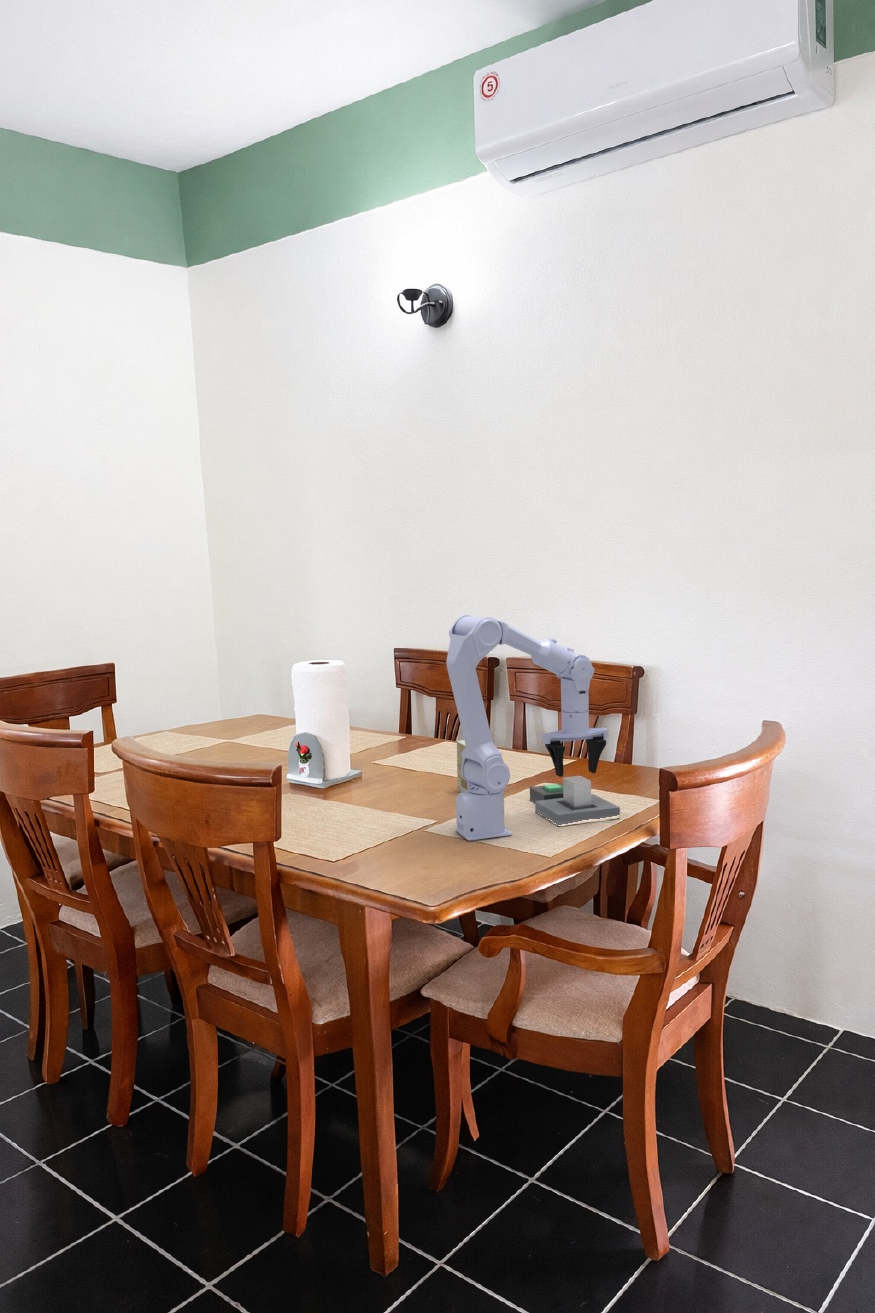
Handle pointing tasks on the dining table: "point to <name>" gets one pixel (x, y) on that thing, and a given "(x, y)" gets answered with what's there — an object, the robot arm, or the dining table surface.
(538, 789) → the button housing
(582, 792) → the block
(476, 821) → the robot arm
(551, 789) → the button
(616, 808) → the pocket plate
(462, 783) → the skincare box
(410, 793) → the dining table surface
